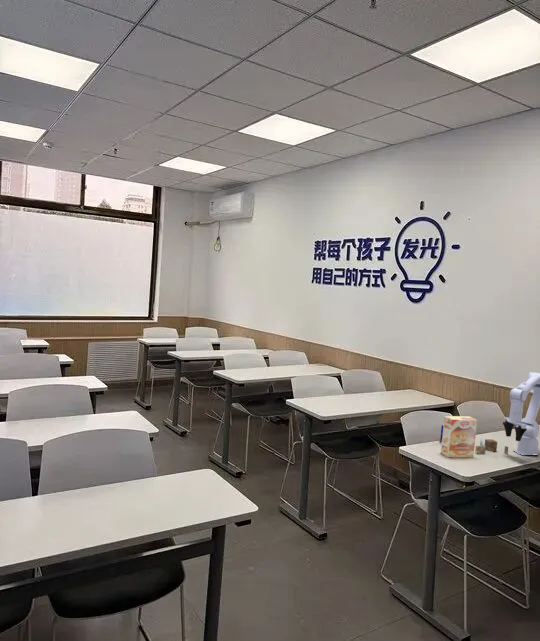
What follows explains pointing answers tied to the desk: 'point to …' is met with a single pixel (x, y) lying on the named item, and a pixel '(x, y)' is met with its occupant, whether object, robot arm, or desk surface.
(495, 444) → the walnut block
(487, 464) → the desk surface
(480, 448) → the oak door frame
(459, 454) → the coffeecake box
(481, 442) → the slate-blue door
